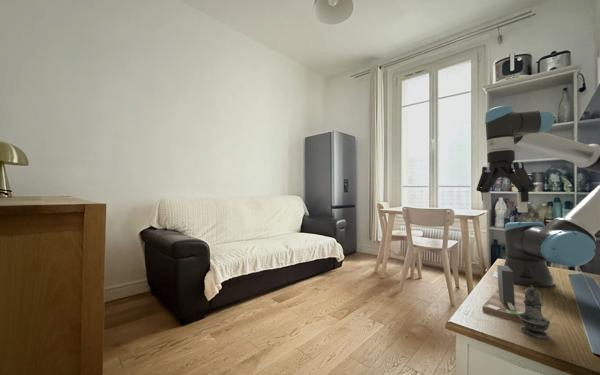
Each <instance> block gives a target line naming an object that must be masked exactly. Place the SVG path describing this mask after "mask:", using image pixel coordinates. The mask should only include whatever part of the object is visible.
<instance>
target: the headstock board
mask: <svg viewBox="0 0 600 375" xmlns="http://www.w3.org/2000/svg"><path fill="white" fill-rule="evenodd" d="M514 298H515V306H514V305H513V307H514V310H512V311H519V312H523V313H524V312H525V303H524V302H523V301H524V300H525V293H521V292H518V291H517V292H516V291H514ZM487 305H493V306H496V307H499V308H501V309H499V310H494V309H491V308H489V307H486V306H487ZM481 309H482V312H483V313H488V314H490V315H495V316H498V317H502V318H505V319H507V320H508V319H509V320H512V321H516V322H519V323H522V322H521V320H520V318H519V316H518V315H515V314H508V313H507V311H506V310H511V309H510V308H509V306H508V305H507V304H503V302H501V299H500V297H499V288H497V290H496V291H495V292H494V293H493V294H492V295H491V296H490V297H489V298H488V299H487V300H486V302H484V304H483V305H482V308H481Z"/></svg>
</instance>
